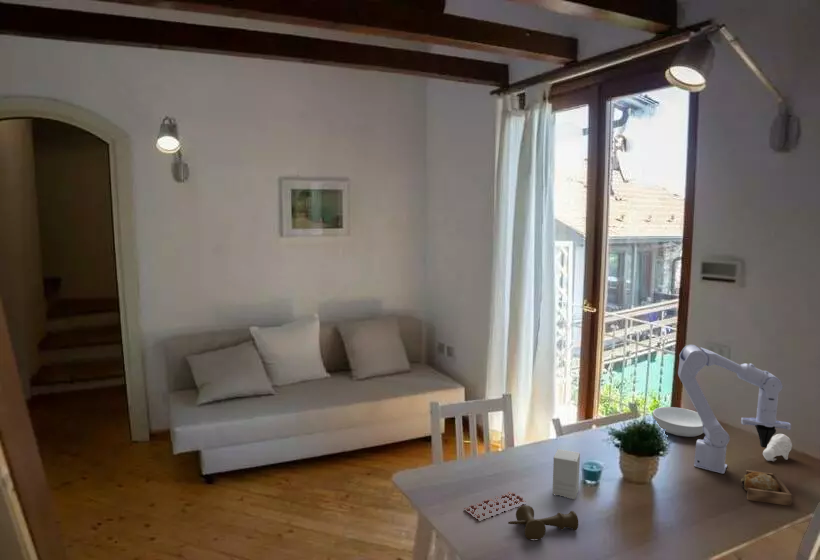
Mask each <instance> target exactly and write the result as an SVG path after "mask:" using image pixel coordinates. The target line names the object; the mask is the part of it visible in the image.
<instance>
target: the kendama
mask: <svg viewBox="0 0 820 560" xmlns="http://www.w3.org/2000/svg"><path fill="white" fill-rule="evenodd" d="M515 519H516V520H513V521H512V520H511V521H507V522H508V523H507V524H508V525H525V528H524V535H525V537H526V539H527V540H529V539H540V540H542V539H543V538H544V536H545V535H546V531H547V530H546V526H550V527H556V528H559V530H564V529H565V528H566V529H567V528H568V529H571V530H573V531H577V530H578V528H579V518H578V515H577V513H576V511H574V510H570V511H569V512H568V513H566V514H565V513H561V512H558V513H556V515H554V516H549V517H544V518H535V510H534V509H533V507H532V506H530V505H526V504H525V505H522V506H519V507H517V509H516V512H515ZM541 538H542V539H541Z"/></svg>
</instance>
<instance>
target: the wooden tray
mask: <svg viewBox="0 0 820 560" xmlns="http://www.w3.org/2000/svg"><path fill="white" fill-rule="evenodd" d="M751 472H760V471H758V470H757V471H756V470H750V469H745V474H744V475H747V474H748V473H751ZM761 472H762V473H765V474H767V475H770V476H772V478H773V479H774V480H775V481H776V482H777V484H778V485H779V489H780V492H776V491H768V490H761V489H753V488H748V490H747V491H746V499H747V500H748V501H754V502H761V503H767V504H769V503H770V504H776V505H783V506H789V507H791V506H792V498H793V495H792V493H791V492H790V490H789V489H788V488H787V487H786V485H785V484H784V482H783V481H782V480H781V478H780V477H779V476H778V474H776V473H772V472H765V471H761Z"/></svg>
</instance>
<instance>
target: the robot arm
mask: <svg viewBox="0 0 820 560" xmlns="http://www.w3.org/2000/svg"><path fill="white" fill-rule="evenodd" d="M714 365H715V366H718V367H720V368H723V369H726V370H727V371H729V372H730V371H731V372H732V373H735V374H736V377H737V378H738V379H739V380H741V381H744V382H746V383H748V384H750V385H753V386H755V387H758V395H757V396H758V397H757V405H756V406H757V408H756V417H741V418H740V424H741V425H743V426H746V425H747V426H748V425H750V426H754V427H755V429H756V431H757V434H758V438H759V443H760V444H759V445H760V447H762V448H763V449H764V448H765V449H766V448H767V445H768V444H769V442H770V441H771V439H772V437H773V436H775V435H776V431H777V430H776V429H777V428H778V429H786V430H791V429H792V423H790V422H788V421H782V420H777V415H778V414H777V412H778V405H779V393H780V392H781V391H782V390H783V388H784V385H783V384H782V381H781V380H780V378H778V377H777V376H775V374H772V373H771V372H769V371H768V370H762V369H760V368H757V367H756V365H755V364H753V363H751V362H750V363H747V362H746V363H741V364H739V363H737V362H736V361H734V360H731V359H729V358H727V357H726V356H723V355H720V354H719V353H716V352H714V351H712V350H710V349H707V348H704V347H699V346H697V345H695V344H686V345H685V346H684V347H683V348H682V350H681V351H680V353H679V361H678V369H677V375H678V377H679V380H680V382H681V383H682V385H683V388H684V390H685V391H686V394H687V395H688V397H689V399H690V401H691V403H692V404H693V407H694V409H695V412H697V413H698V415H699V417H700V419H701V422H702V424H703V432H704V433H703V434H704V437H703V439H701V438H700V439H699V438H698V439H697V440H696V443H695V450H694V451H695V453H694V463H693V466H694V467H695V468H700V469H703V470H706V471H710V472H715V473H719V474H722V475H723V474H725V472H726V471H727V467H728V464H727V463H726V457H727V445H728V444H729V442H730V438H731V437H730V435H729V432H727V430H725V429H724V428H723V426H722V425H721V423H720V422H719V421H718V419H717V417H716V416H715V414H714V412H713V409H712V408H711V406H710V404H709V402H708V400H707V399H706V396H705V394H704V391H702V388H701V386H700V384H699V382H698V381H697V379H696V376H697V375H698V373H699V372H700V371H702V369H704V368H705V366H707V367H711V366H714Z"/></svg>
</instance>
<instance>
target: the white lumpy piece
mask: <svg viewBox="0 0 820 560" xmlns="http://www.w3.org/2000/svg"><path fill="white" fill-rule="evenodd" d="M792 447H793V443H792V440H791V439H790V437H789V436H787V435H786V434H783V433H777V434H776V433H775V434H774V435H773V436H772V437H771V439H770V441H769V443H768V445H767V448H765V449H763V451H762V455H763V458H764V459H765V460H766V462H770V461H772V462H774V461H776V458H775V457H780V456H782V457H783V459H784V460H788V459H789V453H790V451H791V450H792V449H793V448H792Z"/></svg>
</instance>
